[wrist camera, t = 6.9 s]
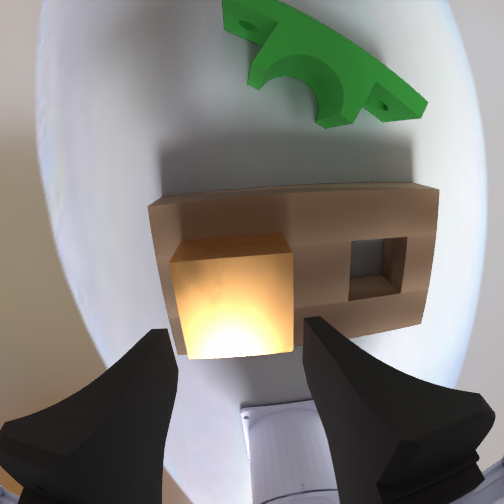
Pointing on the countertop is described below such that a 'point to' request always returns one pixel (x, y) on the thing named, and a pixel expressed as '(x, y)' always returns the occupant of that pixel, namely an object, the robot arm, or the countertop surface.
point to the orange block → (235, 295)
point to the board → (318, 246)
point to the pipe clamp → (320, 63)
